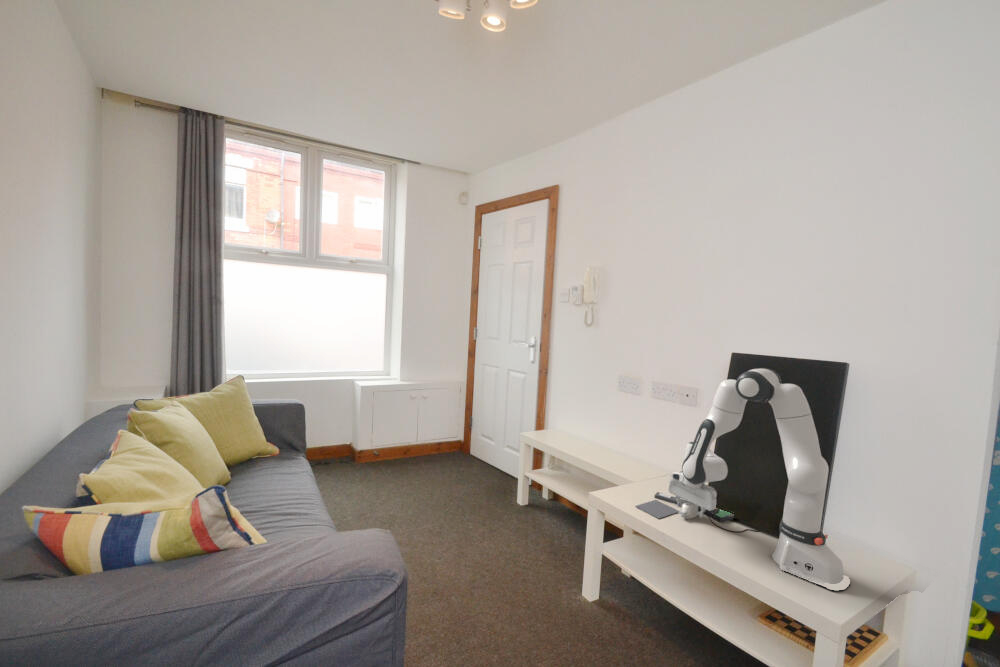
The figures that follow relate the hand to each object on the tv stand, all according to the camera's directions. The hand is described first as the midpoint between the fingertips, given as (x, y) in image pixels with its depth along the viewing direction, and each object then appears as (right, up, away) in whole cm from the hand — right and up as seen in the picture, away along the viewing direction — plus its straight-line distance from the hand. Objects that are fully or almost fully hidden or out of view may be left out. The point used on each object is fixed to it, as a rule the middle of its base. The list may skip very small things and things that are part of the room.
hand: (689, 511), depth 192 cm
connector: (-1, -2, 0) cm, 2 cm away
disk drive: (+12, -3, +5) cm, 13 cm away
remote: (-2, -1, +13) cm, 14 cm away
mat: (-12, -1, +4) cm, 13 cm away
